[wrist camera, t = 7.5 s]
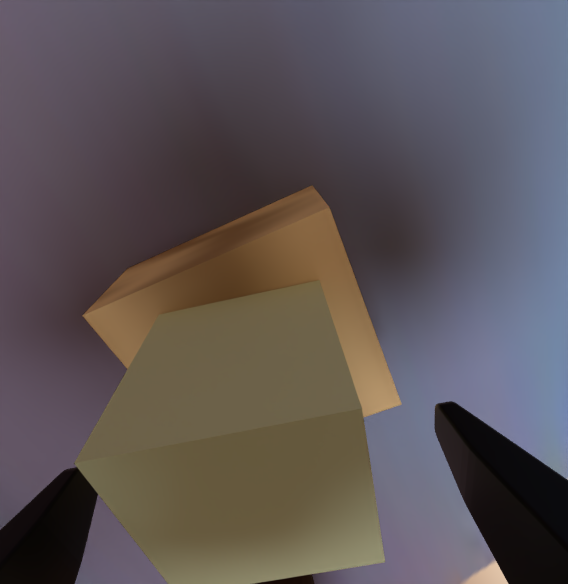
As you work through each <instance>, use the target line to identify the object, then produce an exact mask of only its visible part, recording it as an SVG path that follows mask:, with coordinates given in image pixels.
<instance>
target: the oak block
mask: <svg viewBox="0 0 568 584" xmlns="http://www.w3.org/2000/svg"><path fill="white" fill-rule="evenodd" d="M317 280H320V283H321V286H322V289H323V292H324V295H325V298H326V301H327V304H328V307H329V310H330V314H331V317H332V320H333V323H334V326H335V329H336V332H337V335H338V338H339V341H340V344H341V347H342V350H343V353H344V356H345V359H346V362H347V365H348V368H349V371H350V374H351V377H352V380H353V383H354V386H355V389H356V392H357V395H358V398H359V401H360V404H361V407H362V412H363V417H366V416H369V415H372V414H375V413H378V412H381V411H384V410H387V409H390V408H392V407H395V406H398V405H401V401H400V399H399V396H398V393H397V390H396V388H395V385H394V382H393V379H392V377H391V374H390V371H389V369H388V366H387V363H386V360H385V358H384V355H383V352H382V349H381V347H380V344H379V341H378V339H377V336H376V333H375V330H374V328H373V325H372V322H371V319H370V317H369V314H368V311H367V308H366V306H365V303H364V300H363V298H362V295H361V292H360V289H359V287H358V284H357V281H356V278H355V276H354V273H353V270H352V268H351V265H350V262H349V259H348V257H347V254H346V251H345V248H344V246H343V243H342V240H341V238H340V235H339V232H338V229H337V227H336V224H335V221H334V218H333V216H332V213H331V210H330V208H329V206H328V205H327V204H326V202H325V201H324V200H323V198H322V197H321V196H320V195H319V193H318V192H317V191H316V189H315V188H314V187H313V186H309V187H307V188H305V189H303V190H300V191H298V192H296V193H294V194H292V195H289V196H287V197H285V198H283V199H280V200H278V201H276V202H274V203H272V204H269V205H267V206H265V207H263V208H261V209H258V210H256V211H254V212H252V213H249V214H247V215H245V216H243V217H241V218H238V219H236V220H234V221H232V222H230V223H227V224H225V225H223V226H221V227H218V228H216V229H214V230H212V231H210V232H207V233H205V234H203V235H201V236H199V237H196V238H194V239H192V240H190V241H187V242H185V243H183V244H181V245H179V246H176V247H174V248H172V249H170V250H167V251H165V252H163V253H161V254H159V255H156V256H154V257H152V258H150V259H148V260H145V261H143V262H141V263H139V264H136V265H134V266H132V267H130V268H128V269H127V270H126V271H125V272H124V273H123V274H122V275H121V276H120V277H119V278H118V279H117V280H116V281H115V282H114V283H113V284H112V285H111V286H110V287H109V288H108V289H107V290H106V291H105V292H104V293H103V295H102V296H101V297H100V298H99V299H98V300H97V301H96V302H95V303H94V304H93V305H92V306H91V307H90V308H89V309H88V310H87V311H86V312H85V313H84V314H83V315H82V316H83V317H84V318H85V319H86V321H87V322H88V323H89V324H90V325H91V326H92V328H93V329H94V330H95V331H96V332H97V334H98V335H99V336H100V337H101V338H102V340H103V341H104V342H105V343H106V344H107V345H108V347H109V348H110V349H111V350H112V351H113V353H114V354H115V355H116V356H117V357H118V359H119V360H120V361H121V362H122V363H123V364H124V366H125V367H126V368H127V369H128V368H129V366H130V364H131V363H132V361H133V359H134V357H135V356H136V354H137V352H138V350H139V349H140V347H141V345H142V343H143V342H144V340H145V338H146V336H147V335H148V333H149V331H150V329H151V328H152V326H153V324H154V322H155V321H156V319H157V317H158V315H159V314H164V313H168V312H173V311H178V310H182V309H187V308H192V307H196V306H201V305H206V304H210V303H215V302H219V301H224V300H229V299H233V298H238V297H243V296H247V295H252V294H257V293H261V292H266V291H271V290H275V289H280V288H285V287H289V286H294V285H299V284H303V283H308V282H313V281H317Z"/></svg>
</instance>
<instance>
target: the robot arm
mask: <svg viewBox="0 0 568 584" xmlns="http://www.w3.org/2000/svg"><path fill="white" fill-rule="evenodd" d="M435 432H436V436H437V438H438V441H439V443H440V445H441V448H442V450H443V452H444V455H445V457H446V460H447V462H448V464H449V467H450V469H451V471H452V474H453V476H454V479H455V481H456V483H457V486H458V488H459V490H460V493H461V495H462V497H463V500H464V502H465V504H466V506H467V508H468V510H469V512H470V513H471V515H472V517H473V519H474V521H475V523H476V525H477V526H478V528H479V530H480V532H481V534H482V536H483V537H484V539H485V541H486V543H487V545H488V547H489V549H490V550H491V552H492V554H493V556H494V558H495V560H496V561H497V563H498V565H499V567H500V569H501V571H502V572H503V574H504V576H505V578H506V580H507V582H508V583H509V584H568V480H567V479H566V478H564V477H563V476H561V475H560V474H558V473H557V472H555V471H554V470H553V469H551V468H550V467H548V466H547V465H545V464H544V463H542V462H541V461H539V460H538V459H537V458H535V457H534V456H532V455H531V454H529V453H528V452H526V451H525V450H523V449H522V448H521V447H519V446H518V445H516V444H515V443H513V442H512V441H510V440H509V439H507V438H506V437H505V436H503V435H502V434H500V433H499V432H497V431H496V430H494V429H493V428H491V427H490V426H489V425H487V424H486V423H484V422H483V421H481V420H480V419H478V418H477V417H475V416H474V415H473V414H471V413H470V412H468V411H467V410H465V409H464V408H462V407H461V406H459V405H458V404H457V403H455V402H452V401H450V402H444V403H438V404H436V406H435ZM97 496H98V493H97V492H96V491H95V489H94V488H93V487H92V486H91V484H90V483H89V482H88V481H87V479H86V478H85V477H84V475H83V474H82V473H81V472H80V470H79V469H78V468H77V467H75V468H70V469H66V470H64V471H63V472H62V473H61V474H59V475H58V476H57V477H56V478H55V479H54V480H53V481H52V482H51V483H50V484H49V485H48V486H47V487H46V488H45V489H44V490H42V491H41V492H40V493H39V494H38V495H37V496H36V497H35V498H34V499H33V500H32V501H31V502H30V503H29V504H28V505H26V506H25V507H24V508H23V509H22V510H21V511H20V512H19V513H18V514H17V515H16V516H15V517H14V518H13V519H12V520H11V521H9V522H8V523H7V524H6V525H5V526H4V527H3V528H2V529H1V530H0V584H75V581H76V578H77V575H78V571H79V568H80V565H81V561H82V558H83V554H84V550H85V546H86V542H87V538H88V533H89V529H90V525H91V521H92V517H93V513H94V509H95V504H96V500H97Z"/></svg>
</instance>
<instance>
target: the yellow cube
mask: <svg viewBox="0 0 568 584" xmlns="http://www.w3.org/2000/svg"><path fill="white" fill-rule="evenodd" d="M74 464H75V465H76V466H77V468H78V469H79V470H80V472H81V473H82V474H83V475H84V477H85V478H86V479H87V481H88V482H89V483H90V484H91V486H92V487H93V488H94V489H95V491H96V492H97V493H98V495H99V496H100V497H101V498H102V500H103V501H104V502H105V504H106V505H107V506H108V507H109V509H110V510H111V511H112V513H113V514H114V515H115V516H116V518H117V519H118V520H119V521H120V523H121V524H122V525H123V527H124V528H125V529H126V530H127V532H128V533H129V534H130V536H131V537H132V538H133V539H134V541H135V542H136V543H137V545H138V546H139V547H140V548H141V550H142V551H143V552H144V553H145V555H146V556H147V557H148V559H149V560H150V561H151V562H152V564H153V565H154V566H155V568H156V569H157V570H158V571H159V573H160V574H161V575H162V577H163V578H164V579H165V580H166V582H167V583H168V584H254V583H260V582H266V581H273V580H279V579H285V578H291V577H297V576H303V575H309V574H316V573H322V572H328V571H334V570H340V569H346V568H352V567H358V566H365V565H371V564H377V563H383V562H385V558H384V552H383V545H382V538H381V532H380V525H379V518H378V512H377V505H376V498H375V492H374V485H373V478H372V472H371V465H370V458H369V452H368V445H367V439H366V432H365V425H364V419H363V412H362V407H361V404H360V401H359V398H358V395H357V392H356V389H355V386H354V383H353V380H352V377H351V374H350V371H349V368H348V365H347V362H346V359H345V356H344V353H343V350H342V347H341V344H340V341H339V338H338V335H337V332H336V329H335V326H334V323H333V320H332V317H331V314H330V310H329V307H328V304H327V301H326V298H325V295H324V292H323V289H322V286H321V283H320V280H317V281H313V282H308V283H303V284H299V285H294V286H289V287H285V288H280V289H275V290H271V291H266V292H261V293H257V294H252V295H247V296H243V297H238V298H233V299H229V300H224V301H219V302H215V303H210V304H206V305H201V306H196V307H192V308H187V309H182V310H178V311H173V312H168V313H164V314H159V315H158V317H157V319H156V321H155V322H154V324H153V326H152V328H151V329H150V331H149V333H148V335H147V336H146V338H145V340H144V342H143V343H142V345H141V347H140V349H139V350H138V352H137V354H136V356H135V357H134V359H133V361H132V363H131V364H130V366H129V368H128V370H127V371H126V373H125V375H124V377H123V378H122V380H121V382H120V384H119V385H118V387H117V389H116V391H115V392H114V394H113V396H112V398H111V399H110V401H109V403H108V405H107V406H106V408H105V410H104V412H103V413H102V415H101V417H100V419H99V420H98V422H97V424H96V426H95V427H94V429H93V431H92V433H91V435H90V436H89V438H88V440H87V442H86V443H85V445H84V447H83V449H82V450H81V452H80V454H79V456H78V457H77V459H76V461H75V463H74Z"/></svg>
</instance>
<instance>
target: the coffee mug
mask: <svg viewBox="0 0 568 584" xmlns="http://www.w3.org/2000/svg"><path fill="white" fill-rule="evenodd" d="M254 584H314V580H313V577H312V575H311V574H309V575H303V576H297V577H291V578H285V579H279V580H273V581H266V582H260V583H254Z"/></svg>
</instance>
